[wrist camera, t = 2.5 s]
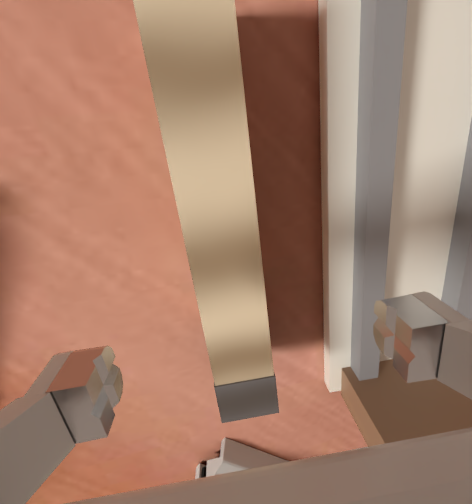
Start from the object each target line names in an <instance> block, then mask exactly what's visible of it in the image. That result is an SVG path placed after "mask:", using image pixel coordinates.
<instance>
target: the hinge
mask: <svg viewBox="0 0 472 504" xmlns="http://www.w3.org/2000/svg"><path fill="white" fill-rule="evenodd" d="M284 462H289V461H287V460H284V459H281V458H279V457H276V456H273V455H271V454H268V453H265V452H263V451H260V450H257V449H255V448H252V447H249V446H246V445H244V444H241V443H238V442H236V441H233V440H230V439H228V438H224V439H223V440H222V443H221V451H220V457H219V458H215V459H211V460H207V465H203V464H199V465H198V466H197V468H196V477H195V479H198V478H203V477H209V476H214V475H219V474H225V473H230V472H235V471H241V470H246V469H251V468H257V467H262V466H268V465H273V464H278V463H284Z"/></svg>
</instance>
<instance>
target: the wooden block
mask: <svg viewBox="0 0 472 504" xmlns="http://www.w3.org/2000/svg"><path fill="white" fill-rule="evenodd" d="M133 3H134V7H135V12H136V17H137V21H138V26H139V31H140V36H141V40H142V45H143V50H144V54H145V59H146V64H147V68H148V73H149V78H150V82H151V87H152V92H153V97H154V101H155V106H156V111H157V115H158V120H159V125H160V129H161V134H162V139H163V143H164V148H165V153H166V158H167V162H168V167H169V172H170V176H171V181H172V186H173V190H174V195H175V200H176V204H177V209H178V214H179V219H180V223H181V228H182V233H183V237H184V242H185V247H186V251H187V256H188V261H189V266H190V270H191V275H192V280H193V284H194V289H195V294H196V298H197V303H198V308H199V312H200V317H201V322H202V327H203V331H204V336H205V341H206V345H207V350H208V355H209V359H210V364H211V369H212V373H213V378H214V388H215V393H216V397H217V402H218V407H219V411H220V416H221V421H222V423H225V422H231V421H236V420H242V419H247V418H252V417H258V416H263V415H269V414H274V413H279V407H278V398H277V388H276V378H275V374H274V370H273V360H272V351H271V341H270V332H269V322H268V313H267V303H266V294H265V284H264V275H263V265H262V256H261V247H260V237H259V228H258V218H257V209H256V199H255V190H254V180H253V171H252V161H251V152H250V142H249V133H248V123H247V114H246V104H245V95H244V85H243V76H242V66H241V57H240V47H239V38H238V28H237V19H236V9H235V0H133Z"/></svg>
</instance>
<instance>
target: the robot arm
mask: <svg viewBox="0 0 472 504" xmlns="http://www.w3.org/2000/svg"><path fill="white" fill-rule="evenodd" d="M374 313H375V314H376V316H377V317H378V319H377V320H376V322H375V323H374V324H373V335H374V338H375V342H376V344H377V346H378V348H379V350H380V351H381V352H382V353H383V355H385V356H387V357H389V358H391V359H393V367H394V368H395V369H396V371H397V372H398V373H399V374H400V375H401V377H402V378H403V379H404V380H405V381H406V383H411V382H418V381H424V380H431V379H437V380H438V381H440V382H441V383H443V384H445V385H447V386H448V387H450V388H452V389H454V390H455V391H457V392H459V393H461V394H463V395H464V396H466V397H468V398H470V399H471V400H472V319H471V320H469V319H468V318H466V317H465V316H463V315H462V314H460V313H459V312H457V311H456V310H454V309H453V308H451V307H450V306H448V305H447V304H445V303H444V302H443V301H441V300H440V299H438V298H437V297H435V296H434V295H432V294H431V293H429V292H425V291H423V292H418V293H413V294H408V295H405V296H400V297H394V298H389V299H383V300H378V301H376V302H375V305H374ZM114 358H115V355H114V352H113V350H112V348H111V347H109V346H102V347H96V348H89V349H82V350H75V351H69V352H63V353H58V354H56V355H54V356H53V357H52V358H51V360H50V361H49V362H48V364H47V365H46V367H45V368H44V369H43V371H42V372H41V373H40V375H39V376H38V378H37V379H36V380H35V382H34V383H33V384H32V386H31V387H30V389H29V390H28V391H27V393H26V394H25V395H24V397H21V398H17V399H15V400H14V401H13V402H11V403H10V404H8V405H7V406H5V407H4V408H3V409H1V410H0V504H25V503H26V502H27V501H28V500H29V499H30V498H31V496H32V495H33V494H34V493H35V492H36V491H37V489H38V488H39V487H40V486H41V485H42V484H43V482H44V481H45V480H46V479H47V478H48V477H49V476H50V474H51V473H52V472H53V471H54V470H55V469H56V467H57V466H58V465H59V464H60V463H61V462H62V461H63V459H64V458H65V457H66V456H67V455H68V454H69V452H70V451H71V450H72V449H73V448H74V447H75V444H77V443H81V442H86V441H91V440H96V439H100V438H105V437H108V434H109V431H110V428H111V425H112V422H113V419H114V416H115V414H114V412H113V408H114V407H115V406H116V405H117V404H118V403H119V401H120V398H121V395H122V388H123V380H122V374H121V371H120V368H118V367H117V366H115V365H114V364H112V363H113V361H114ZM65 504H472V427H471V428H466V429H460V430H455V431H450V432H444V433H439V434H433V435H428V436H423V437H417V438H412V439H407V440H401V441H396V442H391V443H385V444H380V445H375V446H369V447H364V448H358V449H353V450H348V451H342V452H337V453H332V454H326V455H321V456H316V457H310V458H305V459H300V460H294V461H289V462H284V463H278V464H273V465H268V466H262V467H257V468H251V469H246V470H241V471H235V472H230V473H225V474H219V475H214V476H209V477H203V478H198V479H193V480H187V481H182V482H177V483H171V484H166V485H161V486H155V487H150V488H145V489H139V490H134V491H129V492H123V493H118V494H113V495H107V496H102V497H97V498H91V499H86V500H81V501H75V502H70V503H65Z"/></svg>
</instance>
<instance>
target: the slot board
mask: <svg viewBox="0 0 472 504" xmlns="http://www.w3.org/2000/svg"><path fill="white" fill-rule="evenodd" d="M318 14H319V75H320V136H321V197H322V257H323V318H324V379H325V383H326V386H327V388H328V390H329V392H336V391H341V395H342V397H343V399H344V401H345V403H346V405H347V407H348V409H349V411H350V413H351V415H352V416H353V418H354V420H355V422H356V424H357V426H358V428H359V430H360V432H361V434H362V436H363V438H364V440H365V442H366V443H367V445H368V447H369V446H375V445H380V444H385V443H391V442H396V441H401V440H407V439H412V438H417V437H423V436H428V435H433V434H439V433H444V432H450V431H455V430H460V429H466V428H471V427H472V400H471V399H470V398H468V397H466V396H464V395H463V394H461V393H459V392H457V391H455V390H454V389H452V388H450V387H448V386H447V385H445V384H443V383H441V382H440V381H438V380H437V379H431V380H424V381H418V382H411V383H406V381H405V380H404V379H403V378H402V377H401V375H400V374H399V373H398V372H397V371H396V369H395V368H394V367H393V359H391V358H389V357H387V356H385V355H383V353H382V352H381V351H380V350H379V348H378V346H377V344H376V342H375V338H374V335H373V324H374V323H375V322H376V320H377V319H378V317H377V316H376V314H375V313H374V305H375V302H376V301H378V300H383V299H389V298H394V297H400V296H405V295H408V294H413V293H418V292H423V291H425V292H429V293H431V294H432V295H434V296H435V297H437V298H438V299H440V300H441V301H443V302H444V303H445V304H447V305H448V306H450V307H451V308H453V309H454V310H456V311H457V312H459V313H460V314H462V315H463V316H465V317H466V318H468V319H469V320H471V319H472V0H318Z"/></svg>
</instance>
